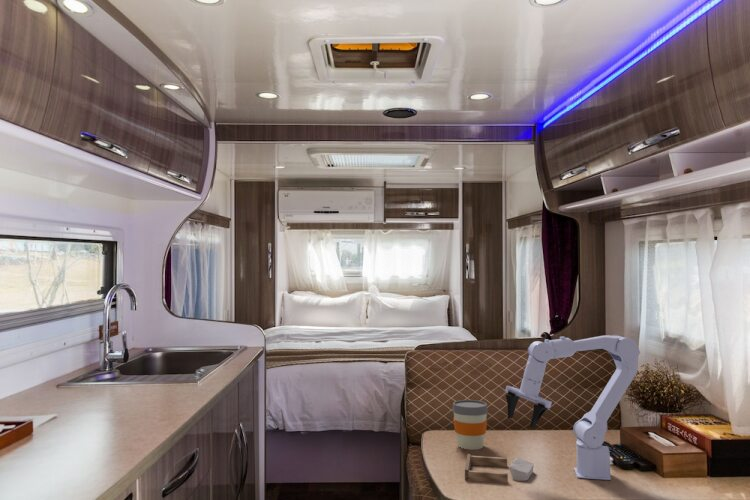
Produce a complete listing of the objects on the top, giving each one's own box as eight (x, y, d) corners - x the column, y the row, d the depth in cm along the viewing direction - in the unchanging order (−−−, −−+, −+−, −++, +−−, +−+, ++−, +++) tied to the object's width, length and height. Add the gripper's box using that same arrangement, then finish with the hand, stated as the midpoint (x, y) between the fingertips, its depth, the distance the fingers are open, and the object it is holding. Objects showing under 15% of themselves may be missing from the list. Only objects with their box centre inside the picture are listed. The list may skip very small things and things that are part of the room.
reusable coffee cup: (494, 449, 194) (493, 406, 194) (460, 452, 191) (460, 408, 192) (479, 439, 206) (478, 398, 207) (447, 442, 203) (447, 400, 204)
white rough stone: (524, 492, 164) (527, 477, 162) (504, 483, 167) (507, 468, 165) (533, 473, 172) (536, 458, 170) (513, 464, 175) (517, 450, 173)
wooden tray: (507, 465, 177) (506, 456, 177) (507, 483, 163) (507, 472, 163) (467, 463, 180) (467, 453, 180) (464, 479, 165) (464, 469, 165)
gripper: (505, 371, 172) (494, 413, 172) (549, 387, 163) (537, 432, 162) (515, 372, 178) (504, 413, 177) (558, 388, 168) (546, 431, 167)
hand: (520, 422), depth 170 cm, fingers open, 7 cm apart
